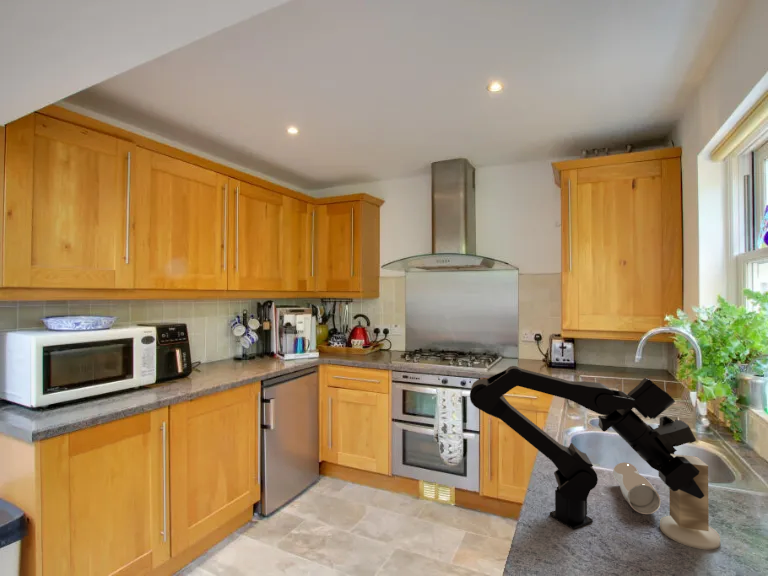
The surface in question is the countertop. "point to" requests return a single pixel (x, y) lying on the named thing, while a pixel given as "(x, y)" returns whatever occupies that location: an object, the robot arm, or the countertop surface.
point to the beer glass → (636, 489)
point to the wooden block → (691, 500)
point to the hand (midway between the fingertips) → (695, 491)
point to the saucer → (690, 535)
